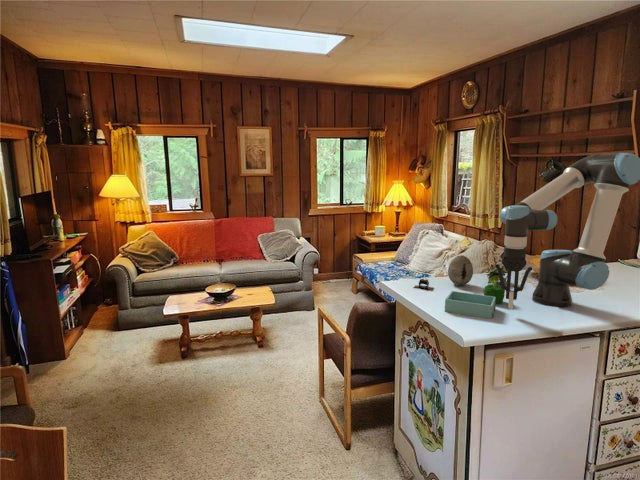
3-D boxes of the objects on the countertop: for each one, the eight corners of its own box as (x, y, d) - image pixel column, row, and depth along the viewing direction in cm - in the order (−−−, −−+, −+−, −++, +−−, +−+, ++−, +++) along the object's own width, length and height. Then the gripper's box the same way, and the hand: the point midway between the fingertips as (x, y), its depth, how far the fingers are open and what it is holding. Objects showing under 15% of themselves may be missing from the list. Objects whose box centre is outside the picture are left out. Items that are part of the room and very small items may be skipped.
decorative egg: (445, 281, 212) (446, 252, 209) (468, 282, 211) (470, 253, 208) (450, 287, 200) (452, 257, 198) (474, 288, 199) (477, 258, 197)
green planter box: (495, 308, 167) (496, 297, 166) (492, 319, 155) (493, 306, 155) (450, 302, 175) (450, 290, 174) (443, 311, 164) (444, 299, 163)
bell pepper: (500, 308, 171) (502, 285, 169) (480, 304, 176) (482, 281, 174) (506, 303, 177) (508, 281, 175) (487, 299, 182) (488, 277, 181)
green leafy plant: (493, 291, 214) (501, 271, 217) (510, 293, 204) (519, 272, 207) (478, 281, 210) (487, 260, 213) (495, 282, 200) (504, 261, 203)
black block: (438, 288, 201) (438, 279, 200) (434, 292, 194) (435, 283, 193) (412, 285, 206) (413, 276, 206) (408, 289, 200) (409, 279, 199)
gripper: (534, 246, 154) (529, 307, 159) (497, 244, 161) (493, 302, 165) (534, 250, 148) (529, 313, 152) (495, 247, 154) (491, 307, 158)
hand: (510, 307), depth 158 cm, fingers closed
